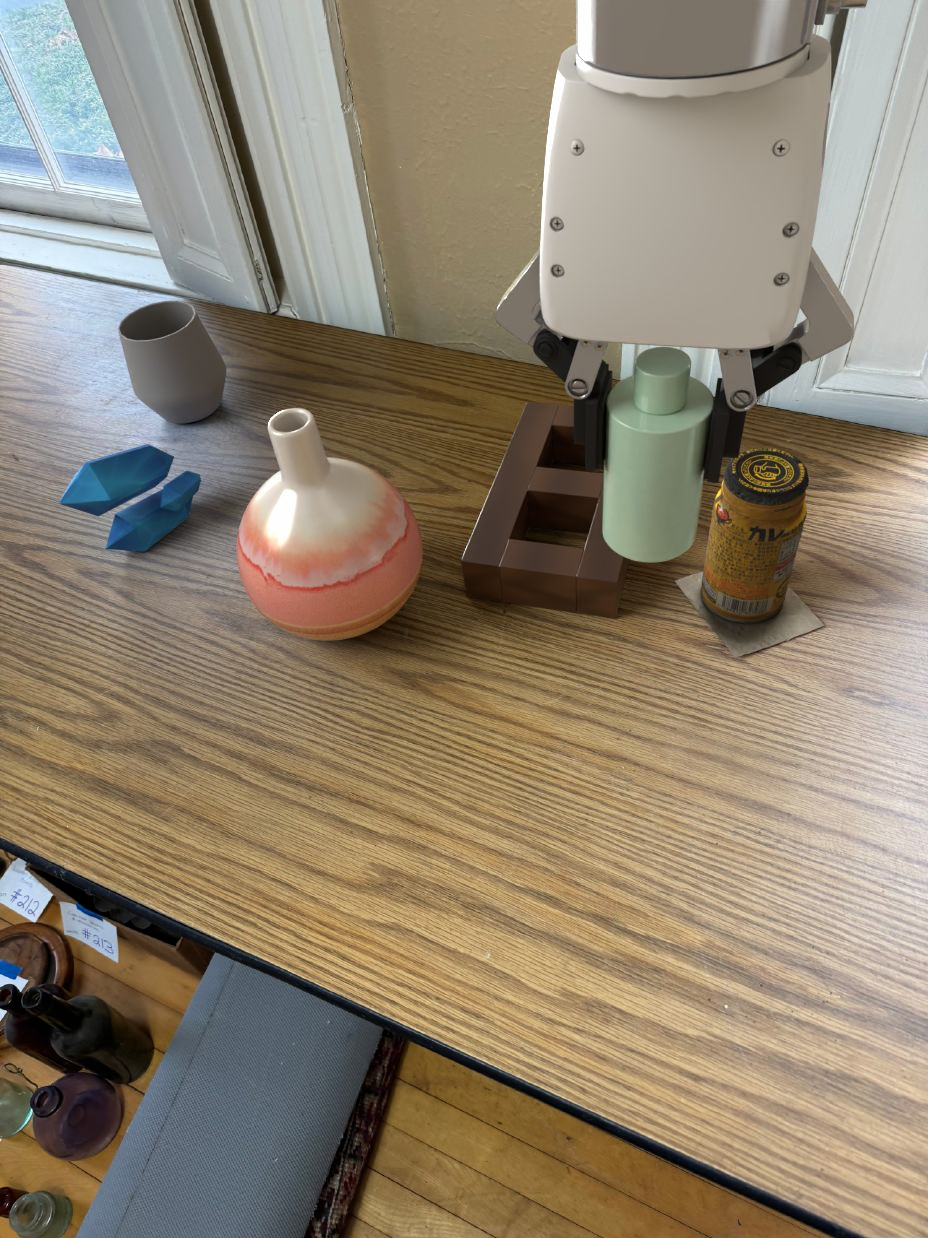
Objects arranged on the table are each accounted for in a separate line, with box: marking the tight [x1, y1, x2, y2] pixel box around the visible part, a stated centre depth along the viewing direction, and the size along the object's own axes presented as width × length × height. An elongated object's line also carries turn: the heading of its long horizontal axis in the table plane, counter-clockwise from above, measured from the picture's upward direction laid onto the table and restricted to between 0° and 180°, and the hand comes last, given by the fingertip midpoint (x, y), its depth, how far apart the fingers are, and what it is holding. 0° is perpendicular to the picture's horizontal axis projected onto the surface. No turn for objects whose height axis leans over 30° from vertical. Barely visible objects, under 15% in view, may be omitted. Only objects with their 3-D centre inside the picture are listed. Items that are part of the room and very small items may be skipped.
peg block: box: [460, 401, 631, 619], centre depth 70 cm, size 12×21×4 cm, turn 163°
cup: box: [117, 300, 227, 424], centre depth 86 cm, size 10×9×10 cm
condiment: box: [674, 447, 825, 658], centre depth 59 cm, size 7×8×12 cm
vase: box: [235, 407, 424, 642], centre depth 61 cm, size 14×14×18 cm
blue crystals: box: [58, 443, 202, 553], centre depth 74 cm, size 7×9×12 cm
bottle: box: [602, 346, 715, 563], centre depth 41 cm, size 5×5×10 cm
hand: (654, 455), depth 41 cm, fingers closed on bottle, 4 cm apart
